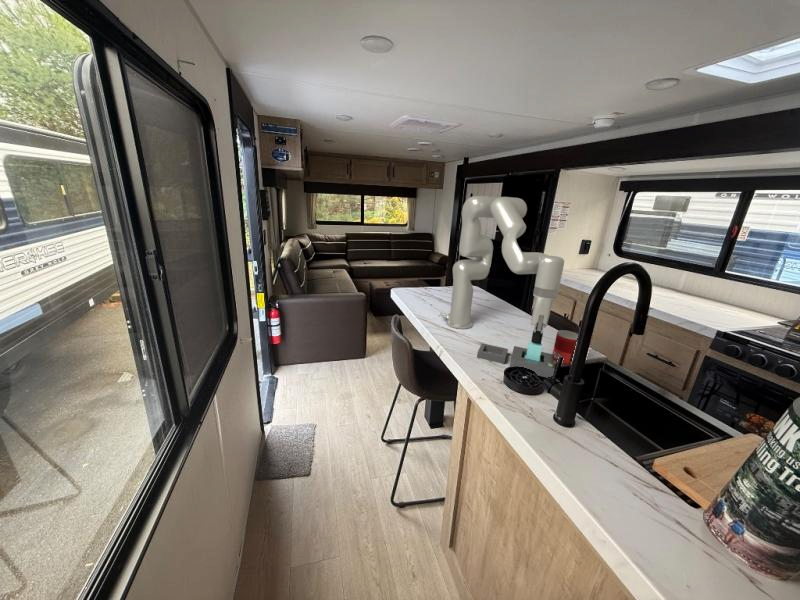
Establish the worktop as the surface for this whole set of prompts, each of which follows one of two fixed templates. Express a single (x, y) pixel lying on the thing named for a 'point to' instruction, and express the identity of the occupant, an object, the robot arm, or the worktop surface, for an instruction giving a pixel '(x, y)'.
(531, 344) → the plug
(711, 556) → the worktop surface
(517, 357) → the port
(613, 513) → the worktop surface
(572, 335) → the canned food
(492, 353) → the holster
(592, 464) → the worktop surface
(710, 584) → the worktop surface
